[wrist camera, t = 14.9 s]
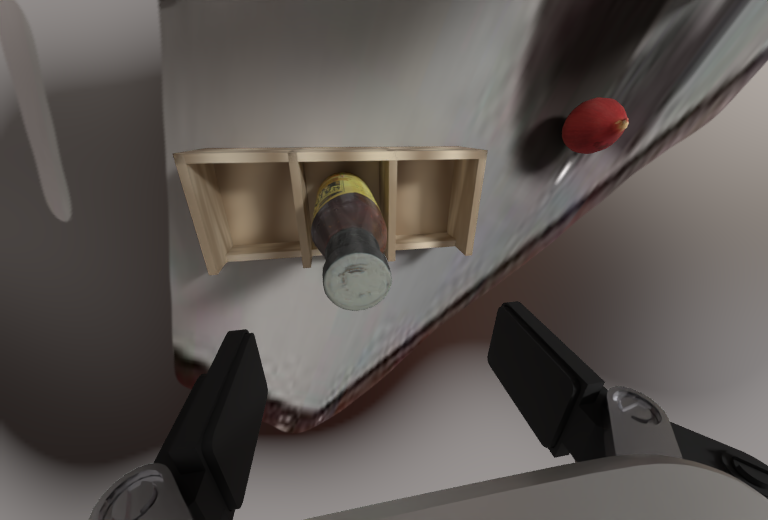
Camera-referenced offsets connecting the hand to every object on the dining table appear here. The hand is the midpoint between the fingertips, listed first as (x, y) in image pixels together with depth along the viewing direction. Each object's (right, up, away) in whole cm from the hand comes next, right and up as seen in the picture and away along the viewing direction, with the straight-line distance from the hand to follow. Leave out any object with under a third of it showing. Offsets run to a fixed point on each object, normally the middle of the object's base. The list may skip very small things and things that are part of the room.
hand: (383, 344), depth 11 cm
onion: (+24, +20, +25) cm, 40 cm away
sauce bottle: (-5, +11, +23) cm, 26 cm away
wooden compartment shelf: (-5, +11, +24) cm, 27 cm away
